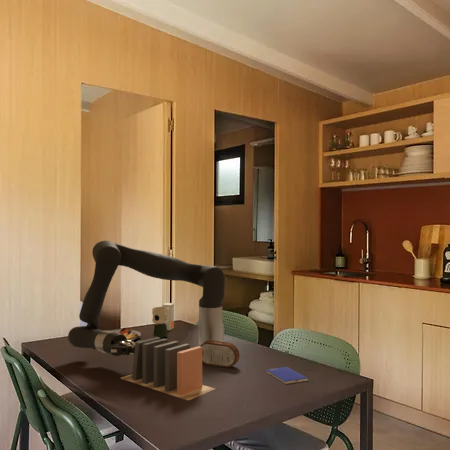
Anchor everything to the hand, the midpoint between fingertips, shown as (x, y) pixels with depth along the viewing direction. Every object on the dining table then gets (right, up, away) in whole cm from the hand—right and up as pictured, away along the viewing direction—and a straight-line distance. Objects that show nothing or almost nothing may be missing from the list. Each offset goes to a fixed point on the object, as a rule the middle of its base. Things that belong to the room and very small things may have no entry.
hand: (144, 351), depth 150 cm
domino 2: (+4, -8, -3) cm, 9 cm away
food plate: (-23, -9, +52) cm, 58 cm away
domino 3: (+8, -8, -6) cm, 13 cm away
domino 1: (0, -8, 0) cm, 8 cm away
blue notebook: (+46, -10, +4) cm, 47 cm away
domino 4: (+12, -8, -9) cm, 17 cm away
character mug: (-3, -9, +56) cm, 57 cm away
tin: (+23, -9, +15) cm, 30 cm away
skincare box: (-1, -9, +73) cm, 74 cm away
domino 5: (+15, -8, -12) cm, 21 cm away
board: (+8, -9, -6) cm, 13 cm away
